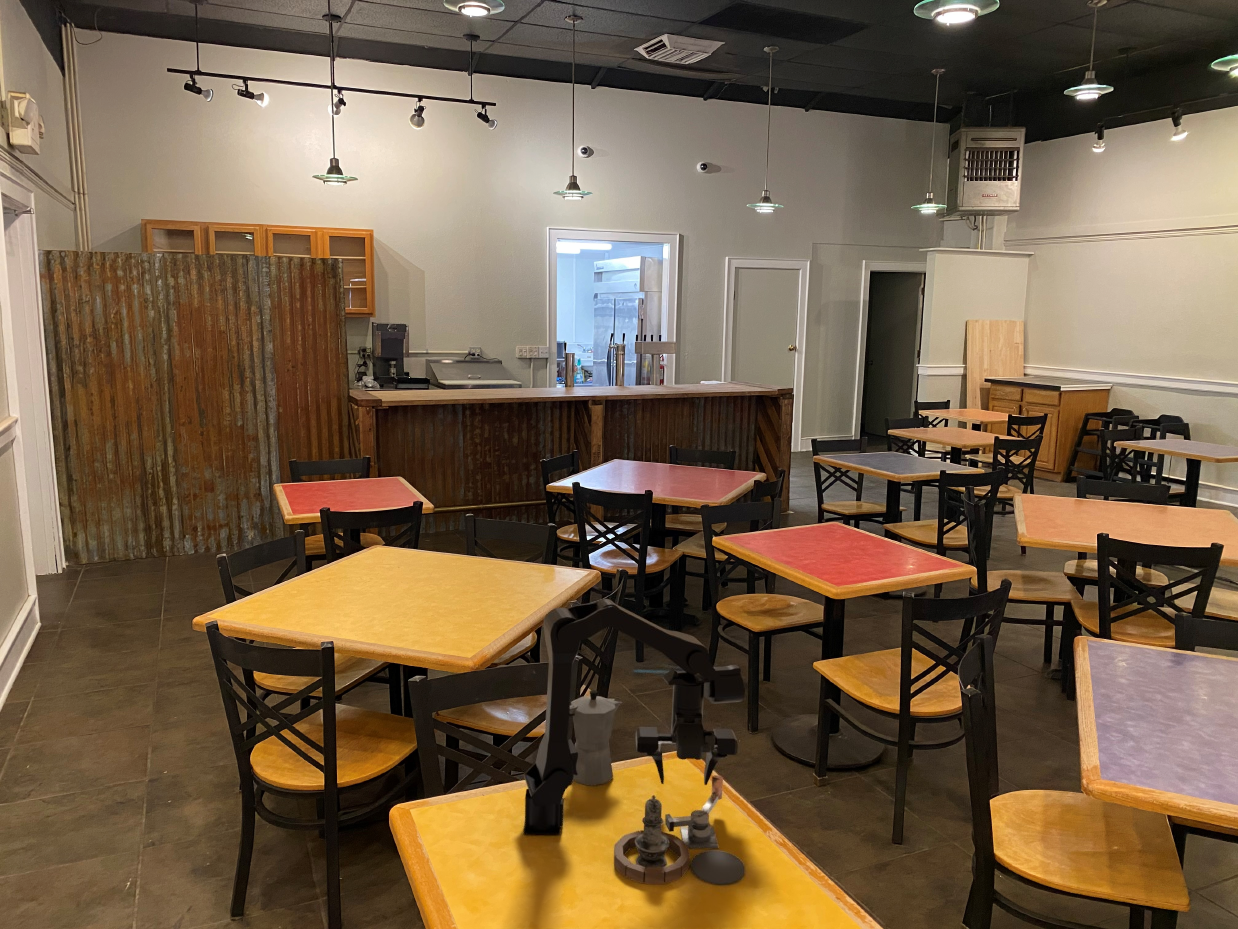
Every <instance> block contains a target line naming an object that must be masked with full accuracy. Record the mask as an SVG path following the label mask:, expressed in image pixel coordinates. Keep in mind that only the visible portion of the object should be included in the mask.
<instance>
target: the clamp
mask: <svg viewBox="0 0 1238 929" xmlns="http://www.w3.org/2000/svg"><path fill="white" fill-rule="evenodd" d="M723 784H724V777H723V776H722V775H718V774H717V775H713V776H712V777H711V795H710V796H709V797H708V799H707V800H706V802H705V803H704V805H703V806H702V808H701V809H695V810H693V811H691V813H690V815H684V816H673V817H672V815H671V814H670V813H666V814H665V817H664V825H665V827H666V828H667V830H668V833H670V832H675V831H674V830H675V828H679V827H688V826H690V825H691V826H692V827H693V828H696V829H705V828H707V827H708V826H709V824H710V820H709V819H710V813H711V812H712V811H713V808H714V807H715V806H716V804H717V803H718V801H719V800H722V799H723Z"/></svg>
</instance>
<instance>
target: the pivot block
mask: <svg viewBox="0 0 1238 929" xmlns="http://www.w3.org/2000/svg"><path fill="white" fill-rule="evenodd" d="M679 830H680V834H681V840H682V841H683V842H684V843H686V844H687V846H688V849H691V850H692V849H696V850H697V849H700V850H701V849H702V850H703V849H704V850H705V849H706V850H708V849H709V850H717V849H718V850H719V842H718V839H717V835H716V833H715V832H716V831H715V828H714V826H711V824H710V823H709V826H708V827H707V828H705V829H696V828H693V827H692V826H691V825H690V826H681V827H680V829H679Z"/></svg>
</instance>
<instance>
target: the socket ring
mask: <svg viewBox="0 0 1238 929" xmlns="http://www.w3.org/2000/svg"><path fill="white" fill-rule="evenodd" d="M643 832H644V829H640V830H636V831H633V832H630V833H625V834H624V835H623V836H621V838H619V840H617V842H615V844H614V846H613V848H614V850H613V859H614V860H613V861H614V862H613V863H614V869H616V870H617V871H618V872H619V873H620V874H621V875H622V876H623V877H624V878H626V879H629V880H631V881H634V882H638V883H641V884H645V885H664V884H668V883H671V882H674V881H677V880H680V879H682V878H683V877H684V876H685V874H686V873H687V872H688V870H689V869H690V867H691V854H690V850H689V849H688V846H687V844H686V843H684V842H683V841H682V838H681V839H680V837H678V836H677V835H674V834H672V833H670V832H665V831H662V830H661V834H662V835H663V836H665V837H666V838H667V839H668V840H669V847H668V848H667V850H670V851H671V853H673V854H675V856H677V857H678V858H677V859H676V861H675V862H673V863H671V864H668V865H666V866H665V867H643V866H640V865H637V864H636V863H634V862H632V861H631V860H629V859H628V858H627V857H626V856H625V854H627V853H628V851H629V850H632V849H635V848H637V846H636V845H635V839H636V838H637V836H639V835H641V834H643Z"/></svg>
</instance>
